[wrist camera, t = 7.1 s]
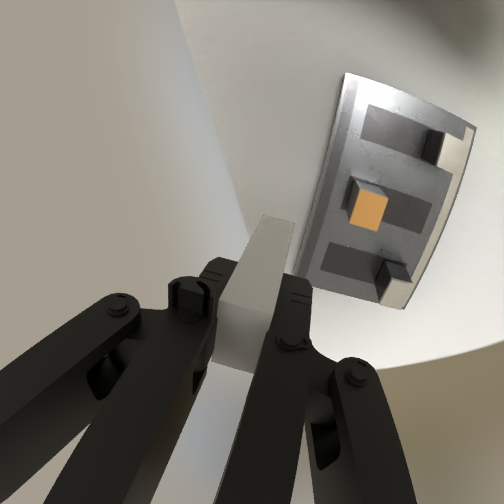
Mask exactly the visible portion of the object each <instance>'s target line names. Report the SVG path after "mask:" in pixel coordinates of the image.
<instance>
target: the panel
mask: <svg viewBox="0 0 504 504" xmlns="http://www.w3.org/2000/svg"><path fill="white" fill-rule="evenodd" d="M476 128H477V127H475V126H473V125H472V124H470V123H468V122H466V121H465V120H463V119H461V118H459V117H457V116H455V115H453V114H451V113H449V112H447V111H445V110H443V109H441V108H439V107H437V106H435V105H433V104H431V103H429V102H426V101H424V100H422V99H420V98H417V97H415V96H413V95H410V94H408V93H405V92H403V91H400V90H398V89H395V88H392V87H390V86H387V85H384V84H381V83H378V82H376V81H373V80H370V79H367V78H363V77H360V76H357V75H354V74H350V73H347V72H346V73H345V75H344V78H343V83H342V87H341V92H340V97H339V101H338V106H337V110H336V114H335V119H334V123H333V127H332V132H331V136H330V140H329V144H328V148H327V152H326V156H325V160H324V164H323V168H322V172H321V176H320V180H319V184H318V187H317V191H316V195H315V199H314V202H313V206H312V210H311V213H310V217H309V220H308V224H307V228H306V231H305V235H304V238H303V241H302V245H301V248H300V252H299V255H298V258H297V262H296V265H295V268H294V272H293V276H297V277H301V278H305V279H308V280H309V282H310V284H311V286H313V287H316V288H320V289H324V290H328V291H332V292H336V293H340V294H344V295H347V296H351V297H355V298H359V299H363V300H367V301H371V302H375V303H379V305H383V306H387V307H391V308H395V309H399V310H401V309H403V310H404V309H405V307H406V305H407V304H408V302H409V300H410V298H411V296H412V295H413V293H414V291H415V289H416V287H417V285H418V283H419V281H420V280H421V278H422V276H423V274H424V272H425V270H426V268H427V266H428V264H429V261H430V259H431V257H432V255H433V253H434V251H435V249H436V246H437V244H438V242H439V240H440V237H441V235H442V233H443V230H444V228H445V225H446V223H447V220H448V218H449V215H450V213H451V210H452V208H453V205H454V202H455V199H456V197H457V194H458V191H459V188H460V185H461V182H462V179H463V176H464V173H465V169H466V166H467V163H468V159H469V156H470V152H471V148H472V145H473V141H474V137H475V132H476ZM354 180H359V181H362V182H365V183H368V184H371V185H374V186H377V187H380V188H381V190H382V191H383V192H384V194H385V195H386V196H387V197H388V202H387V205H386V207H385V210H384V213H383V216H382V219H381V221H380V224H379V227H378V230H377V231H373V230H370V229H367V228H364V227H360V226H357V225H353V224H350V223H349V219H348V215H347V212H346V207H347V203H348V200H349V197H350V193H351V190H352V187H353V183H354Z"/></svg>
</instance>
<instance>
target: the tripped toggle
mask: <svg viewBox="0 0 504 504" xmlns="http://www.w3.org/2000/svg"><path fill="white" fill-rule="evenodd" d="M387 202H388V197H387V196H386V195H385V194H384V192H383V191H382V190H381V188H380V187H377V186H374V185H371V184H368V183H365V182H362V181H359V180H354V183H353V187H352V190H351V193H350V197H349V200H348V203H347V207H346V212H347V215H348V219H349V223H350V224H353V225H357V226H360V227H364V228H367V229H370V230H373V231H377V230H378V227H379V224H380V221H381V219H382V216H383V213H384V210H385V207H386V205H387Z"/></svg>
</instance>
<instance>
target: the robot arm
mask: <svg viewBox="0 0 504 504" xmlns="http://www.w3.org/2000/svg"><path fill="white" fill-rule="evenodd" d="M293 228H294V223H292V222H288V221H285V220H281V219H277V218H273V217H269V216H264V215H263V216H262V218H261V220H260V222H259V224H258V226H257V228H256V230H255V231H254V233H253V235H252V237H251V239H250V241H249V243H248V245H247V247H246V249H245V251H244V252H243V254H242V256H241V258H240V260H239V262H236V261H232V260H229V259H225V258H221V257H217V258H215V259H213V260H212V261H210V262H209V263H208V264H207V266H206V267H205V268H204V270H203V271H202V273H201V274H200V275H199V277H193V276H186V277H179V278H177V279H174V280H172V281H171V282H170V283H169V284H168V308H167V309H164V310H154V309H142V308H140V305H139V302H138V300H137V299H135V297H133V296H131V295H129V294H125V293H115V294H110V295H108V296H106V297H104V298H102V299H101V300H99V301H98V302H96V303H95V304H93V305H92V306H90V307H89V308H87V309H86V310H84V311H83V312H81V313H80V314H78V315H77V316H75V317H74V318H72V319H71V320H70V321H68V322H67V323H65V324H64V325H62V326H61V327H59V328H58V329H57V330H55V331H54V332H52V333H51V334H49V335H48V336H47V337H45V338H44V339H43V340H41V341H40V342H39V343H37V344H36V345H34V346H33V347H31V348H30V349H29V350H27V351H26V352H24V353H23V354H22V355H20V356H19V357H18V358H16V359H15V360H14V361H12V362H11V363H10V364H8V365H7V366H6V367H4V368H3V369H2V370H0V503H2V502H3V501H5V500H6V499H7V498H9V497H10V496H11V495H12V494H13V493H14V492H15V491H16V490H17V489H19V488H20V487H21V486H22V485H23V484H24V483H25V482H26V481H27V480H29V479H30V478H31V477H32V476H33V475H34V474H35V473H36V472H37V471H38V470H40V469H41V468H42V467H43V466H44V465H45V464H46V463H47V462H48V461H50V460H51V459H52V458H53V457H54V456H55V455H56V454H57V453H58V452H59V451H60V450H62V449H63V448H64V447H65V446H66V445H67V444H68V443H69V442H70V441H71V440H72V439H73V438H75V437H76V436H77V435H78V433H80V432H81V431H82V430H83V429H84V428H85V427H86V426H87V425H89V424H90V425H89V427H88V428H87V430H86V431H85V433H84V435H83V436H82V438H81V439H80V442H79V443H78V444H77V446H76V448H75V449H74V451H73V453H72V454H71V456H70V458H69V459H68V461H67V463H66V464H65V466H64V468H63V470H62V471H61V473H60V475H59V477H58V478H57V480H56V482H55V484H54V485H53V487H52V489H51V490H50V492H49V494H48V496H47V498H46V499H45V501H44V503H43V504H150V503H151V500H152V498H153V496H154V493H155V491H156V489H157V487H158V484H159V482H160V480H161V478H162V475H163V473H164V471H165V468H166V466H167V464H168V461H169V459H170V457H171V455H172V452H173V450H174V448H175V445H176V443H177V441H178V439H179V436H180V434H181V432H182V429H183V427H184V425H185V423H186V420H187V418H188V416H189V413H190V411H191V408H192V406H193V404H194V402H195V399H196V397H197V394H198V392H199V390H200V388H201V385H202V383H203V381H204V378H205V376H206V373H207V365H208V362H209V360H210V358H211V356H212V360H211V361H212V362H215V363H218V364H222V365H225V366H228V367H232V368H235V369H239V370H242V371H246V372H249V373H253V374H254V376H253V379H252V382H251V386H250V389H249V392H248V395H247V398H246V402H245V406H244V409H243V412H242V416H241V419H240V422H239V425H238V429H237V432H236V435H235V439H234V441H233V445H232V448H231V451H230V454H229V457H228V460H227V463H226V466H225V469H224V472H223V475H222V478H221V481H220V484H219V487H218V490H217V493H216V496H215V499H214V502H213V504H290V501H291V497H292V492H293V487H294V481H295V476H296V471H297V465H298V459H299V453H300V446H301V439H302V433H303V426H304V423H305V431H306V439H307V446H308V453H309V461H310V469H311V477H312V485H313V493H314V502H315V504H417V502H416V497H415V494H414V489H413V485H412V481H411V477H410V474H409V470H408V467H407V463H406V459H405V456H404V452H403V449H402V446H401V442H400V439H399V436H398V433H397V430H396V426H395V424H394V420H393V417H392V414H391V411H390V408H389V405H388V402H387V399H386V396H385V394H384V391H383V388H382V385H381V382H380V380H379V377H378V374H377V373H376V371H375V369H374V367H372V366H371V365H370V364H369V363H368V362H366V361H364V360H362V359H360V358H355V357H348V358H344V359H342V360H341V361H339V362H338V363H337V362H335V361H333V360H331V359H329V358H327V357H325V356H324V355H322V354H320V353H319V352H318V351H317V350H316V349H315V348H314V347H313V345H312V342H311V339H310V337H309V331H310V320H311V305H312V293H313V288H312V286H311V284H310V282H309V280H308V279H305V278H301V277H297V276H293V275H289V274H285V273H283V272H284V268H285V263H286V259H287V254H288V250H289V246H290V241H291V237H292V232H293Z"/></svg>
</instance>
